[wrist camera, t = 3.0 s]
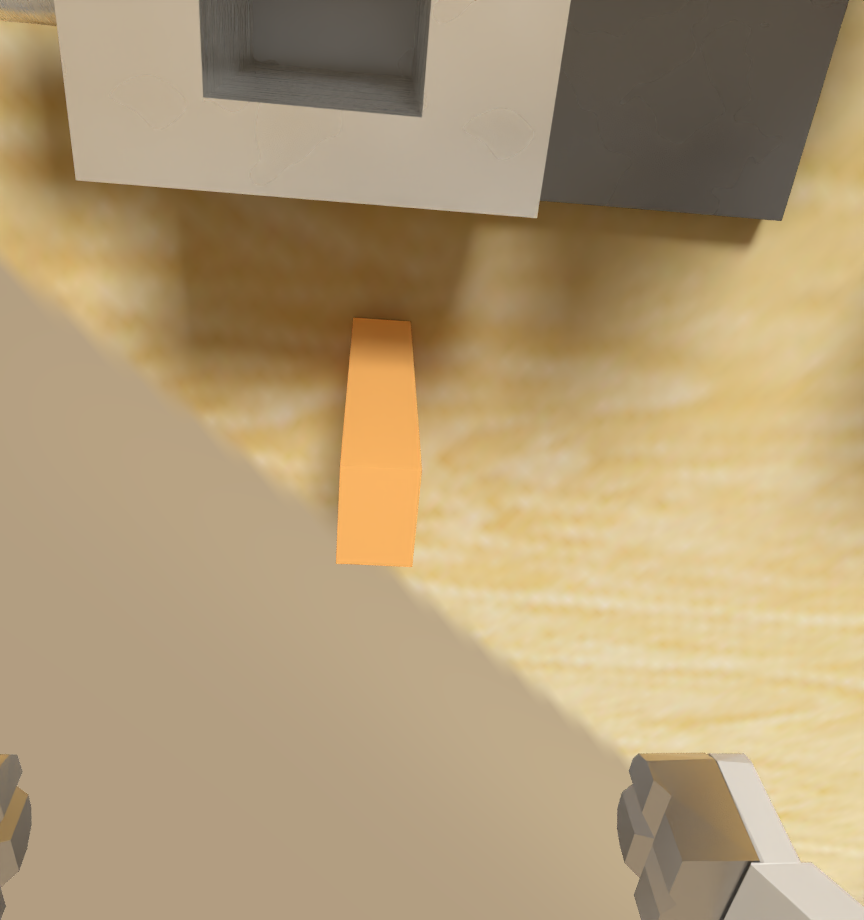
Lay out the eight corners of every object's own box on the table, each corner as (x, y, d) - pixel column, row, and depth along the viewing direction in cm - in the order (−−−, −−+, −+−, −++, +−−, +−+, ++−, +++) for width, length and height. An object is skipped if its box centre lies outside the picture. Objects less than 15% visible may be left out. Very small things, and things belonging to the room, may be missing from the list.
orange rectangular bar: (410, 321, 23) (421, 470, 16) (404, 398, 24) (412, 567, 17) (353, 317, 23) (340, 465, 16) (349, 395, 24) (336, 563, 17)
